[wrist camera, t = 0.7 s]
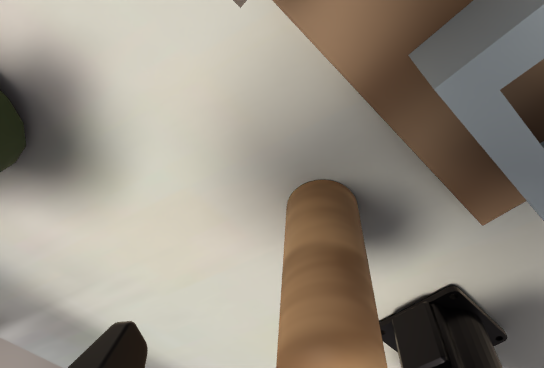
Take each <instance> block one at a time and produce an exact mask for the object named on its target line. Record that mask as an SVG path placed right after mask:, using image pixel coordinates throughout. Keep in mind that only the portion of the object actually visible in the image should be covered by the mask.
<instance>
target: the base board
mask: <svg viewBox="0 0 544 368" xmlns="http://www.w3.org/2000/svg"><path fill="white" fill-rule="evenodd" d="M233 1H234V2H235V3H236V4H237V5H238V6H239V7H240V8H241V7H242V5H243V4H244V3H245V2H246V1H247V0H233ZM273 1H274V2H275V3H276V5H277V6H278V7H279V8H280V9H281V10H282V11H283V12H284V13H285V14H286V15H287V16H288V17H289V19H290V20H291V21H292V22H293V23H294V24H295V25H296V26H297V27H298V28H299V29H300V30H301V31H302V32H303V34H304V35H305V36H306V37H307V38H308V39H309V40H310V41H311V42H312V43H313V44H314V45H315V46H316V48H317V49H318V50H319V51H320V52H321V53H322V54H323V55H324V56H325V57H326V58H327V59H328V60H329V61H330V63H331V64H332V65H333V66H334V67H335V68H336V69H337V70H338V71H339V72H340V73H341V74H342V75H343V77H344V78H345V79H346V80H347V81H348V82H349V83H350V84H351V85H352V86H353V87H354V88H355V89H356V90H357V92H358V93H359V94H360V95H361V96H362V97H363V98H364V99H365V100H366V101H367V102H368V103H369V104H370V106H371V107H372V108H373V109H374V110H375V111H376V112H377V113H378V114H379V115H380V116H381V117H382V118H383V119H384V121H385V122H386V123H387V124H388V125H389V126H390V127H391V128H392V129H393V130H394V131H395V132H396V133H397V135H398V136H399V137H400V138H401V139H402V140H403V141H404V142H405V143H406V144H407V145H408V146H409V147H410V148H411V150H412V151H413V152H414V153H415V154H416V155H417V156H418V157H419V158H420V159H421V160H422V161H423V162H424V163H425V165H426V166H427V167H428V168H429V169H430V170H431V171H432V172H433V173H434V174H435V175H436V176H437V177H438V179H439V180H440V181H441V182H442V183H443V184H444V185H445V186H446V187H447V188H448V189H449V190H450V191H451V192H452V194H453V195H454V196H455V197H456V198H457V199H458V200H459V201H460V202H461V203H462V204H463V205H464V206H465V208H466V209H467V210H468V211H469V212H470V213H471V214H472V215H473V216H474V217H475V218H476V219H477V220H478V221H479V223H480V224H481V225H482V226H483V225H485V224H487V223H488V222H490V221H492V220H494V219H495V218H497V217H499V216H501V215H502V214H504V213H506V212H508V211H509V210H511V209H513V208H515V207H516V206H518V205H520V204H522V203H523V202H525V201H527V200H526V199H525V198H524V197H523V196H522V194H521V193H520V192H519V191H518V190H517V188H516V187H515V186H514V185H513V184H512V182H511V181H510V180H509V179H508V178H507V176H506V175H505V174H504V173H503V172H502V170H501V169H500V168H499V167H498V166H497V164H496V163H495V162H494V161H493V160H492V158H491V157H490V156H489V155H488V154H487V152H486V151H485V150H484V149H483V148H482V146H481V145H480V144H479V143H478V142H477V140H476V139H475V138H474V137H473V136H472V134H471V133H470V132H469V131H468V130H467V128H466V127H465V126H464V125H463V124H462V122H461V121H460V120H459V119H458V118H457V116H456V115H455V114H454V113H453V112H452V110H451V109H450V108H449V107H448V106H447V104H446V103H445V102H444V101H443V100H442V98H441V97H440V96H439V95H438V94H437V92H436V91H435V90H434V89H433V87H432V86H431V85H430V84H429V82H428V81H427V80H426V78H425V77H424V76H423V74H422V73H421V72H420V70H419V69H418V68H417V66H416V65H415V64H414V62H413V61H412V60H411V58H410V57H409V56H408V55H409V54H410V53H412V52H413V51H414V50H415V49H416V48H417V47H419V46H420V45H421V44H422V43H423V42H425V41H426V40H427V39H428V38H429V37H431V36H432V35H433V34H434V33H435V32H436V31H438V30H439V29H440V28H441V27H442V26H444V25H445V24H446V23H447V22H448V21H450V20H451V19H452V18H453V17H454V16H455V15H457V14H458V13H459V12H460V11H461V10H463V9H464V8H465V7H466V6H467V5H469V4H470V3H471V2H472V1H473V0H273ZM500 91H501V92H502V94H503V95H504V96H505V98H506V99H507V100H508V102H509V103H510V104H511V106H512V107H513V108H514V110H515V111H516V112H517V114H518V115H519V116H520V118H521V119H522V120H523V122H524V123H525V124H526V126H527V127H528V128H529V130H530V131H531V132H532V134H533V135H534V136H535V138H536V139H537V140H538V142H539V143H542V142H543V141H544V59H543V60H541V61H540V62H538V63H537V64H536V65H534V66H533V67H531V68H530V69H529V70H527V71H526V72H524V73H523V74H522V75H520V76H519V77H517V78H516V79H515V80H513V81H512V82H510V83H509V84H507V85H506V86H505V87H503V88H502V89H500Z"/></svg>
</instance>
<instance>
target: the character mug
mask: <svg viewBox="0 0 544 368" xmlns="http://www.w3.org/2000/svg"><path fill="white" fill-rule="evenodd" d="M25 147H26V141H25V132H24V124H23V122H22V120H21V118H20V117H19V115H18V114H17V112H16V110H15V109H14V107H13V106H12V104H11V102H10V101H9V99H8V98H7V97H6V96H5V95H4V94H3V93H2V92H1V91H0V172H1V171H3V170H4V169H6V168H7V167H9V166H10V165H12V164H13V163H15V162H16V161H17V159H18V158H19V156H20V154H21V153H22V151H23V150H24V148H25Z"/></svg>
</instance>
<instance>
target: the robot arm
mask: <svg viewBox="0 0 544 368" xmlns="http://www.w3.org/2000/svg"><path fill="white" fill-rule="evenodd" d="M379 325H380V330H381V336H382V341H383V342H385V343H386V344H387V345H389V346H390V347H391V348H393V349H394V350H395V351H396V352H398V353H399V358H400V362H401V367H402V368H502V365H501V363H500V361H499V359H498V356H497V354H496V352H495V349H494V347H493V346H495V345H497V344H500V343H502V342H504V341H506V339H507V335H506V333H505V331H504V330H503V329H502V328H501V327H500V326H499V325H498V324H497V323H496V322H494V321H493V320H492V319H491V318H490V317H489V316H488V315H487V314H486V313H485V312H484V311H483V310H482V309H481V308H480V307H478V306H477V305H476V304H475V303H474V302H473V301H472V300H471V299H470V298H469V297H468V296H467V295H466V294H465V293H464V292H462V291H461V290H460V289H459V288H458V287H456V286H450V287H447V288H445V289H443V290H441V291H439V292H437V293H435V294H434V295H432V296H430V297H428V298H426V299H424V300H422V301H420V302H418V303H416V304H414V305H412V306H410V307H408V308H406V309H405V310H403V311H401V312H399V313H397V314H395V315H393V316H391V317H389V318H387V319H385V320H383V321H381V322H379ZM146 358H147V344H146V341H145V340H144V338H143V336H142V335H141V333H140V331H139V329H138V328H137V326H136V324H135V323H134V322H132V321H126V322H117V323H115V324H113V325H112V326H111V327H110V328H109V329H108V330H107V331H105V332H104V333H103V334H102V335H101V336H100V337H99V338H98V339H97V340H96V341H95V342H94V343H93V344H92V345H91V346H90V347H89V348H88V349H87V350H86V351H85V352H84V353H83V354H81V355H80V356H79V357H78V358H77V359H76V360H75V361H74V362H73V363H72V364H71V365H70V366H69V367H68V368H145V363H146Z"/></svg>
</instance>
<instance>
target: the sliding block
mask: <svg viewBox="0 0 544 368" xmlns="http://www.w3.org/2000/svg"><path fill="white" fill-rule="evenodd" d="M408 56H409V57H410V58H411V60H412V61H413V62H414V64H415V65H416V66H417V68H418V69H419V70H420V72H421V73H422V74H423V76H424V77H425V78H426V80H427V81H428V82H429V84H430V85H431V86H432V87H433V89H434V90H435V91H436V92H437V94H438V95H439V96H440V97H441V98H442V100H443V101H444V102H445V103H446V104H447V106H448V107H449V108H450V109H451V110H452V112H453V113H454V114H455V115H456V116H457V118H458V119H459V120H460V121H461V122H462V124H463V125H464V126H465V127H466V128H467V130H468V131H469V132H470V133H471V134H472V136H473V137H474V138H475V139H476V140H477V142H478V143H479V144H480V145H481V146H482V148H483V149H484V150H485V151H486V152H487V154H488V155H489V156H490V157H491V158H492V160H493V161H494V162H495V163H496V164H497V166H498V167H499V168H500V169H501V170H502V172H503V173H504V174H505V175H506V176H507V178H508V179H509V180H510V181H511V182H512V184H513V185H514V186H515V187H516V188H517V190H518V191H519V192H520V193H521V194H522V196H523V197H524V198H525V199H526V200H527V202H528V203H529V204H530V205H531V206H532V208H533V209H534V210H535V211H536V212H537V214H538V215H539V216H540V217H541V218H542V220H543V221H544V141H543V142H542V143H539V142H538V140H537V139H536V138H535V136H534V135H533V134H532V132H531V131H530V130H529V128H528V127H527V126H526V124H525V123H524V122H523V120H522V119H521V118H520V116H519V115H518V114H517V112H516V111H515V110H514V108H513V107H512V106H511V104H510V103H509V102H508V100H507V99H506V98H505V96H504V95H503V94H502V92H501V91H500V89H502V88H503V87H505V86H506V85H507V84H509V83H510V82H512V81H513V80H515V79H516V78H517V77H519V76H520V75H522V74H523V73H524V72H526V71H527V70H529V69H530V68H531V67H533V66H534V65H536V64H537V63H538V62H540V61H541V60H543V59H544V0H473V1H472V2H471V3H470V4H469V5H467V6H466V7H465V8H464V9H463V10H461V11H460V12H459V13H458V14H457V15H455V16H454V17H453V18H452V19H451V20H450V21H448V22H447V23H446V24H445V25H444V26H442V27H441V28H440V29H439V30H438V31H436V32H435V33H434V34H433V35H432V36H431V37H429V38H428V39H427V40H426V41H425V42H423V43H422V44H421V45H420V46H419V47H417V48H416V49H415V50H414V51H413V52H412V53H410V54H409V55H408Z"/></svg>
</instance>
